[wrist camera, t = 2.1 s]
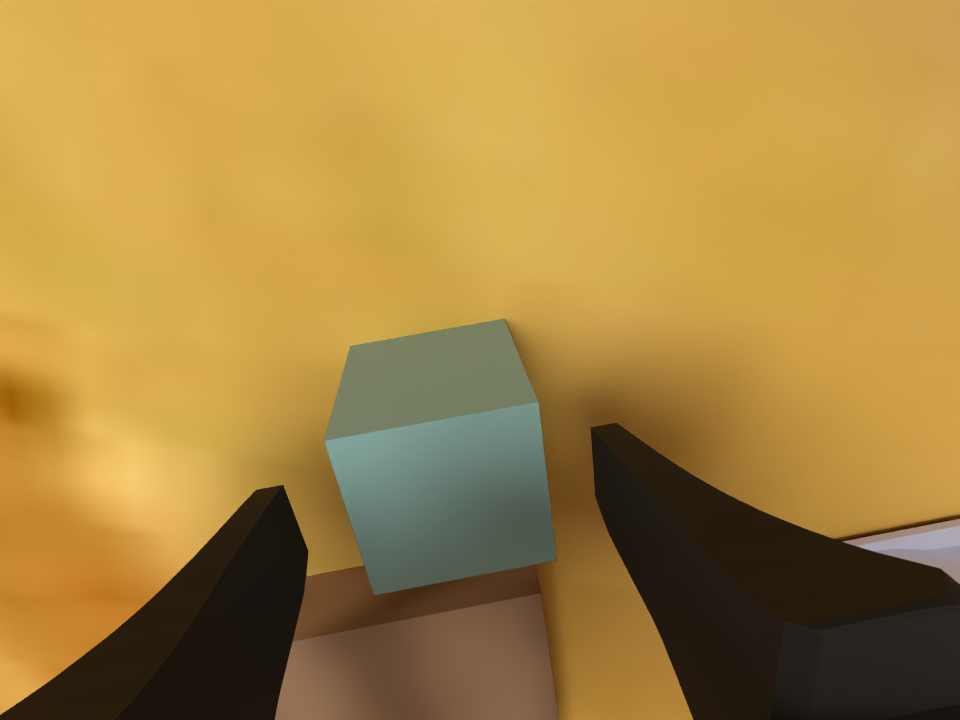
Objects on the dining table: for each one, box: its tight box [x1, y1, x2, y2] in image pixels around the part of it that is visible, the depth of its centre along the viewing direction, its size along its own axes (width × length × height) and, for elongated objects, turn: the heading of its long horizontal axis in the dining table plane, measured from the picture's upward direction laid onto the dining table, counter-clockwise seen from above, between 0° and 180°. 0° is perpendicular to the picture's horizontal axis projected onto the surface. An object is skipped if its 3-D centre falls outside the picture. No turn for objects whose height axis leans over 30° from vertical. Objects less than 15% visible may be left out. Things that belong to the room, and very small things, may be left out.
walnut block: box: [275, 565, 559, 720], centre depth 20 cm, size 10×10×3 cm
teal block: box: [324, 319, 557, 595], centre depth 15 cm, size 4×4×5 cm
